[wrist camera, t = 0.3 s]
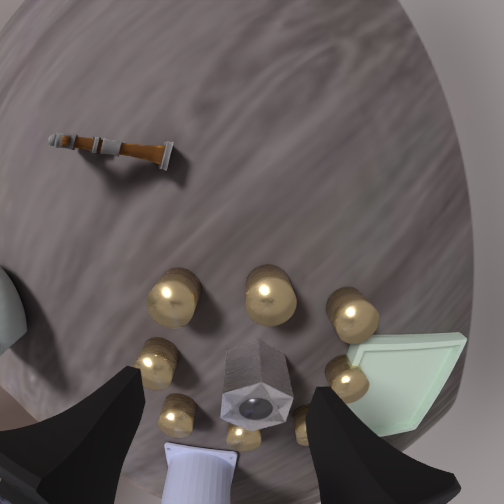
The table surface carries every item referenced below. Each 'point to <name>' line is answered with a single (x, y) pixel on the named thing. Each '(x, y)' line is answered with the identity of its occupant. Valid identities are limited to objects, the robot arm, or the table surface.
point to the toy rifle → (114, 147)
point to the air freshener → (10, 313)
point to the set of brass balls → (264, 313)
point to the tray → (402, 377)
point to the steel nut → (256, 386)
